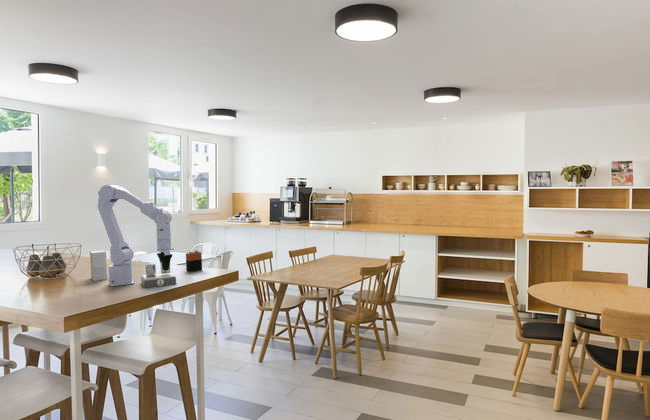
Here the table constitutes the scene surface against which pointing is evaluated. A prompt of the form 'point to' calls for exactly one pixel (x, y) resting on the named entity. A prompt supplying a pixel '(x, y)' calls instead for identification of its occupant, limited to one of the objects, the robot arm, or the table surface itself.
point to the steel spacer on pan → (150, 270)
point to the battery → (193, 261)
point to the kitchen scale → (158, 280)
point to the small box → (98, 265)
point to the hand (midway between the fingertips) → (165, 269)
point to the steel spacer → (164, 270)
